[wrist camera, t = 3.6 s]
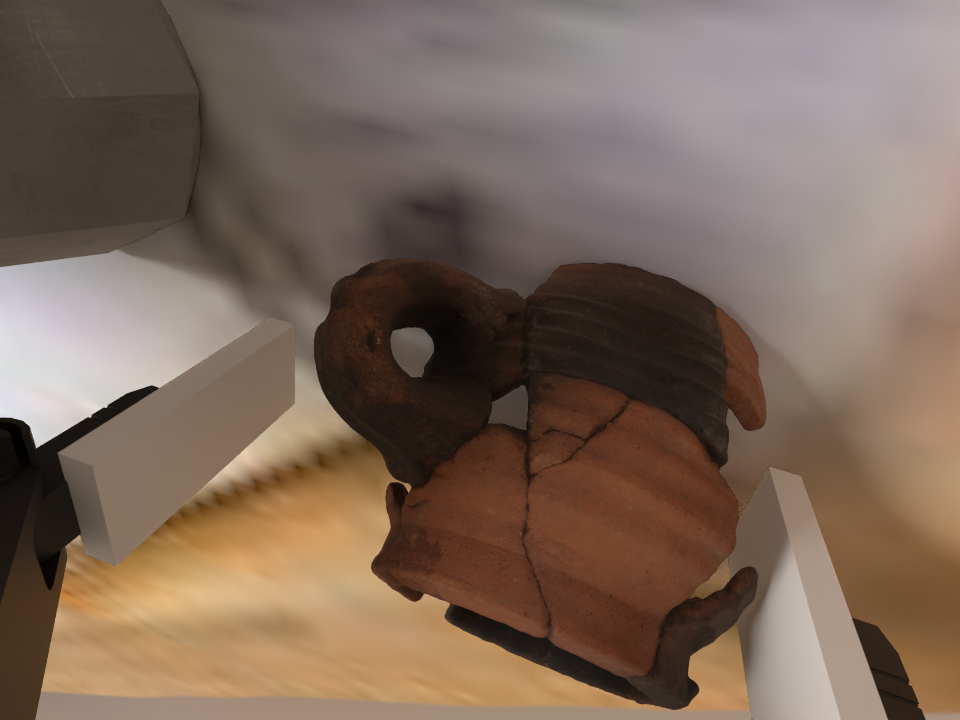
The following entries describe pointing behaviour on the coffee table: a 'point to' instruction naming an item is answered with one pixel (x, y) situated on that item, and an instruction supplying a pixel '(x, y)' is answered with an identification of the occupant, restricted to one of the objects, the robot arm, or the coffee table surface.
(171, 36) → the coffeepot
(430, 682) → the coffee table surface
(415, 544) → the pottery mug
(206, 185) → the coffee table surface
